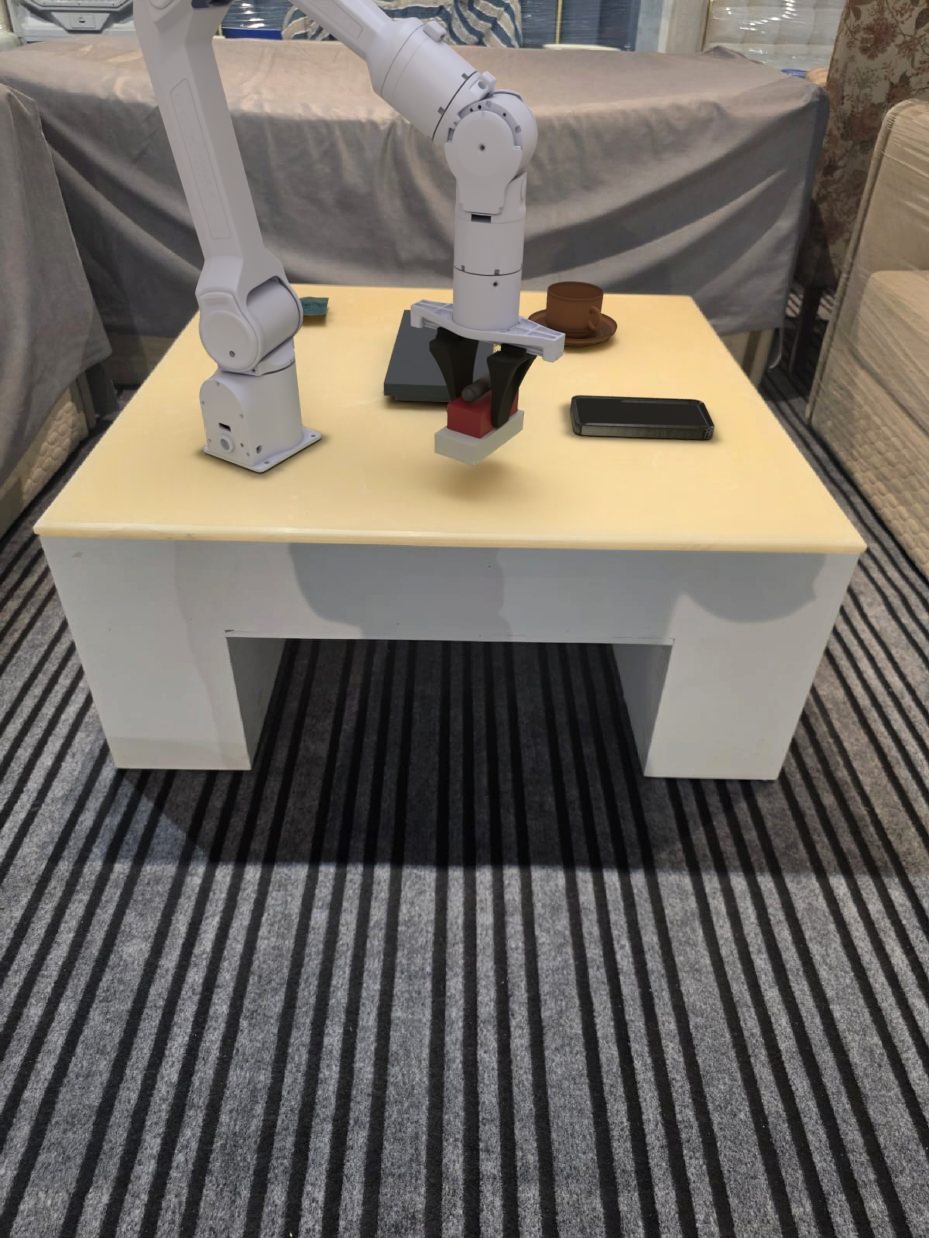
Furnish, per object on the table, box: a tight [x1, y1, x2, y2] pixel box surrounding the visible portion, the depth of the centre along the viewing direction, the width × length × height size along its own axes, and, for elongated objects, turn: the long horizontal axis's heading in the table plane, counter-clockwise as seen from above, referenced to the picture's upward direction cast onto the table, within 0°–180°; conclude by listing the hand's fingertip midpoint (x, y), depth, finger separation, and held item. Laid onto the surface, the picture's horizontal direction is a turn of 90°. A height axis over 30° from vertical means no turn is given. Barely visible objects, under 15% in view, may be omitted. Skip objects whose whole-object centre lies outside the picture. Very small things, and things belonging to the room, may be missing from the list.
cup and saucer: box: [527, 280, 618, 347], centre depth 111 cm, size 12×12×6 cm
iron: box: [434, 373, 525, 467], centre depth 78 cm, size 9×4×6 cm, turn 148°
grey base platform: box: [383, 309, 494, 403], centre depth 102 cm, size 24×12×3 cm, turn 178°
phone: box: [570, 394, 715, 440], centre depth 92 cm, size 8×1×15 cm
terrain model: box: [299, 296, 330, 317], centre depth 115 cm, size 13×8×2 cm, turn 97°
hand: (481, 417), depth 78 cm, fingers closed on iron, 3 cm apart
